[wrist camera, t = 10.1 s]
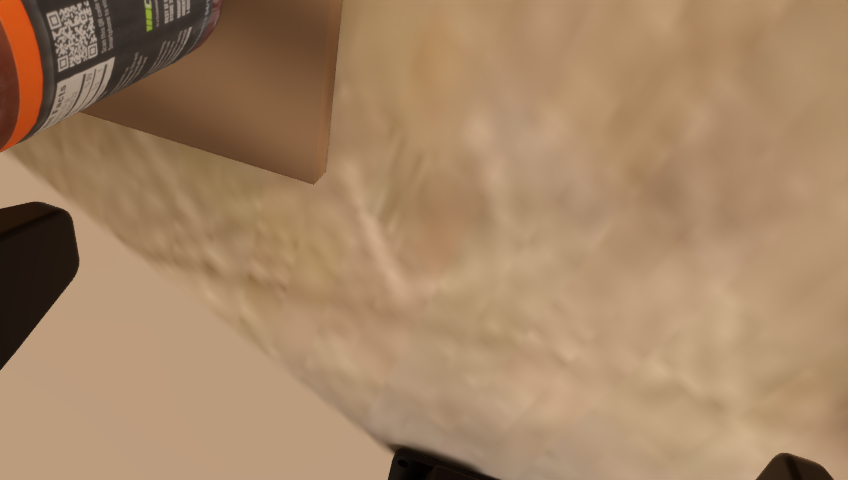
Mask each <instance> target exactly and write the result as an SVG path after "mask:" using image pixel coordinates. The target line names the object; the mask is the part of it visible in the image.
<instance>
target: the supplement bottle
mask: <svg viewBox="0 0 848 480" xmlns="http://www.w3.org/2000/svg"><path fill="white" fill-rule="evenodd" d="M222 5H223V0H0V152H2V151H4V150H6V149H8V148H9V147H11V146H13V145H15V144H17V143H20V142H22V141H24V140H26V139H28V138H30V137H32V136H33V135H35V134H37V133H39V132H41V131H43V130H45V129H47V128H49V127H51V126H53V125H55V124H56V123H58V122H60V121H62V120H64V119H66V118H68V117H70V116H72V115H74V114H76V113H78V112H79V111H81V110H84V109H86V108H87V107H89V106H91V105H93V104H95V103H97V102H99V101H101V100H103V99H105V98H107V97H108V96H110V95H112V94H114V93H116V92H118V91H121V90H123V89H124V88H126V87H128V86H130V85H132V84H134V83H136V82H138V81H140V80H142V79H143V78H146V77H147V76H149V75H151V74H153V73H155V72H157V71H159V70H161V69H163V68H165V67H167V66H169V65H170V64H173V63H176V62H177V61H178V60H180V59H181V58H183V57H184V56H186V55H188V54H190V53H191V52H193V51H195V50H196V49H197V48H199V47H200V46H201V45H202V44H203V43H204V42H205V41H206V40H207V38H208V37H209V35H210V34H211V33H212V32H213V30H214V28H215V27H216V25H217V23H218V20H219V18H220V15H221V11H222Z"/></svg>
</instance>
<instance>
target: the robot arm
mask: <svg viewBox="0 0 848 480" xmlns="http://www.w3.org/2000/svg"><path fill="white" fill-rule="evenodd" d="M78 267H79V254H78V248H77V242H76V237H75V231H74V225H73V220H72V217H71V216H70V214H69V213H68V212H67V211H65V210H64V209H61V208H58V207H55V206H52V205H49V204H46V203H42V202H30V203H25V204H20V205H16V206H12V207H7V208H2V209H0V370H1V369H2V368H3V366H4V365H5V364H6V363H7V362H8V360H9V359H10V358H11V357H12V356H13V355H14V353H15V352H16V351H17V349H18V348H19V347H20V346H21V344H22V343H23V342H24V341H25V339H26V338H27V337H28V335H29V334H30V333H31V332H32V330H33V329H34V328H35V327H36V325H37V324H38V323H39V321H40V320H41V319H42V318H43V317H44V315H45V314H46V313H47V312H48V310H49V309H50V308H51V306H52V305H53V304H54V302H55V301H56V300H57V299H58V298H59V296H60V295H61V294H62V293H63V291H64V290H65V289H66V287H67V286H68V285H69V284H70V282H71V281H72V280H73V278H74V277H75V275H76V273H77V271H78ZM388 480H489V479H486V478H484V477H481V476H478V475H475V474H473V473H470V472H467V471H464V470H462V469H459V468H456V467H453V466H451V465H448V464H445V463H442V462H439V461H437V460H434V459H431V458H428V457H426V456H423V455H420V454H417V453H415V452H412V451H409V450H406V449H399V450H397V451H396V453H395V455H394V457H393V460H392V464H391V468H390V473H389V477H388ZM756 480H834V479H833V478H832V477H831V475H830V474H829V473H828V472H827V471H826V470H825V468H824V467H822V466H821V465H820V464H818V463H816V462H813V461H810V460H807V459H804V458H801V457H798V456H795V455H792V454H789V453H780V454H778V455H776V456H775V457H774V458H773V459H772V460H771V461H770V463H769V464H768V465H767V466H766V468H765V469H764V470H763V471H762V473H761V474H760V475H759V476H758V478H757V479H756Z"/></svg>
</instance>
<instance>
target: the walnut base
mask: <svg viewBox="0 0 848 480" xmlns="http://www.w3.org/2000/svg"><path fill="white" fill-rule="evenodd" d="M341 9H342V0H223V5H222V11H221V15H220V18H219V20H218V23H217V25H216V27H215V28H214V30H213V32H212V33H211V34H210V35H209V37H208V38H207V40H206V41H205V42H204V43H203V44H202V45H201V46H200V47H199V48H197V49H196V50H195V51H193V52H191V53H190V54H188V55H186V56H184V57H183V58H181V59H180V60H178V61H177V62H176V63H173V64H170V65H169V66H167V67H165V68H163V69H161V70H159V71H157V72H155V73H153V74H151V75H149V76H147V77H146V78H143V79H142V80H140V81H138V82H136V83H134V84H132V85H130V86H128V87H126V88H124V89H123V90H121V91H118V92H116V93H114V94H112V95H110V96H108V97H107V98H105V99H103V100H101V101H99V102H97V103H95V104H93V105H91V106H89V107H87V108H86V109H84V110H81V111H79V112H82V113H85V114H88V115H92V116H95V117H98V118H101V119H104V120H108V121H111V122H114V123H117V124H121V125H124V126H127V127H130V128H133V129H137V130H140V131H143V132H146V133H149V134H153V135H156V136H159V137H162V138H166V139H169V140H172V141H175V142H178V143H182V144H185V145H188V146H191V147H194V148H198V149H201V150H204V151H207V152H211V153H214V154H217V155H220V156H223V157H227V158H230V159H233V160H236V161H239V162H243V163H246V164H249V165H252V166H255V167H259V168H262V169H265V170H268V171H272V172H275V173H278V174H281V175H284V176H288V177H291V178H294V179H297V180H300V181H304V182H307V183H310V184H313V185H314V184H315V183H316V182H317V181H318V179H319V178H320V177H321V176H322V175H323V174H324V173H325V172H326V162H327V152H328V142H329V132H330V122H331V111H332V101H333V91H334V81H335V71H336V60H337V50H338V40H339V30H340V20H341Z"/></svg>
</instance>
